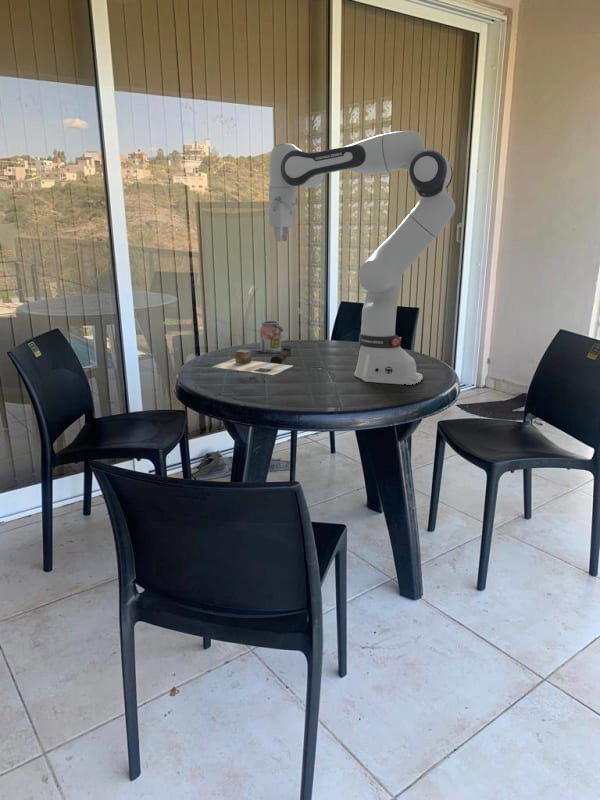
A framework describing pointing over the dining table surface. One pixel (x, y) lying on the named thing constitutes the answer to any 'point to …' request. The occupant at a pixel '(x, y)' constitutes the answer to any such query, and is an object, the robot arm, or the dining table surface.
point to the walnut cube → (243, 356)
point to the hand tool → (282, 355)
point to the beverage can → (270, 337)
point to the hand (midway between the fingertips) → (281, 241)
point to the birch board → (254, 367)
